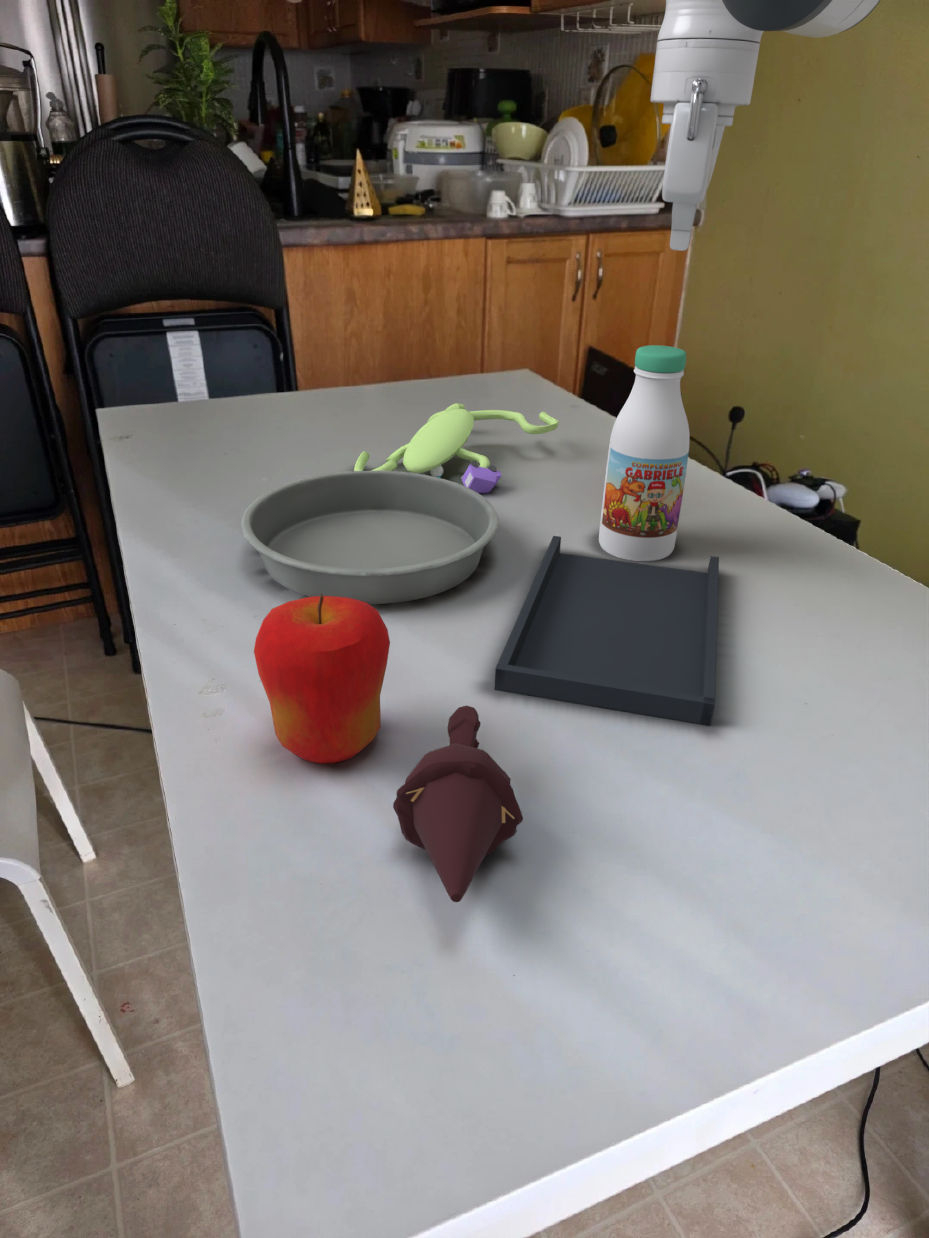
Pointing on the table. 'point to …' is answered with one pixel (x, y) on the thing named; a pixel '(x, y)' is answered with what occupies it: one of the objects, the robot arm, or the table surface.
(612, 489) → the milk bottle
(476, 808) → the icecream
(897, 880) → the table surface
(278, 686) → the apple
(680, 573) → the tray
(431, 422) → the figurine
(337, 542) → the cake pan
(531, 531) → the table surface
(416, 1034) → the table surface
